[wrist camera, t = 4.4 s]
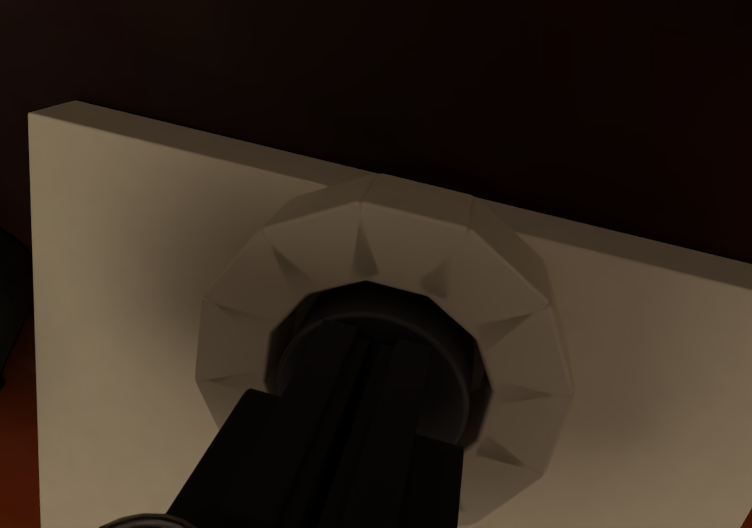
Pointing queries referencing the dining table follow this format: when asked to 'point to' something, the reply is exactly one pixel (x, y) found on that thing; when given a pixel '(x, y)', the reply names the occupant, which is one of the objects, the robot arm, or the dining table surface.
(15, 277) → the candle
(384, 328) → the dark round knob center
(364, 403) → the robot arm
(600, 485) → the white base plate
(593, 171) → the dining table surface
